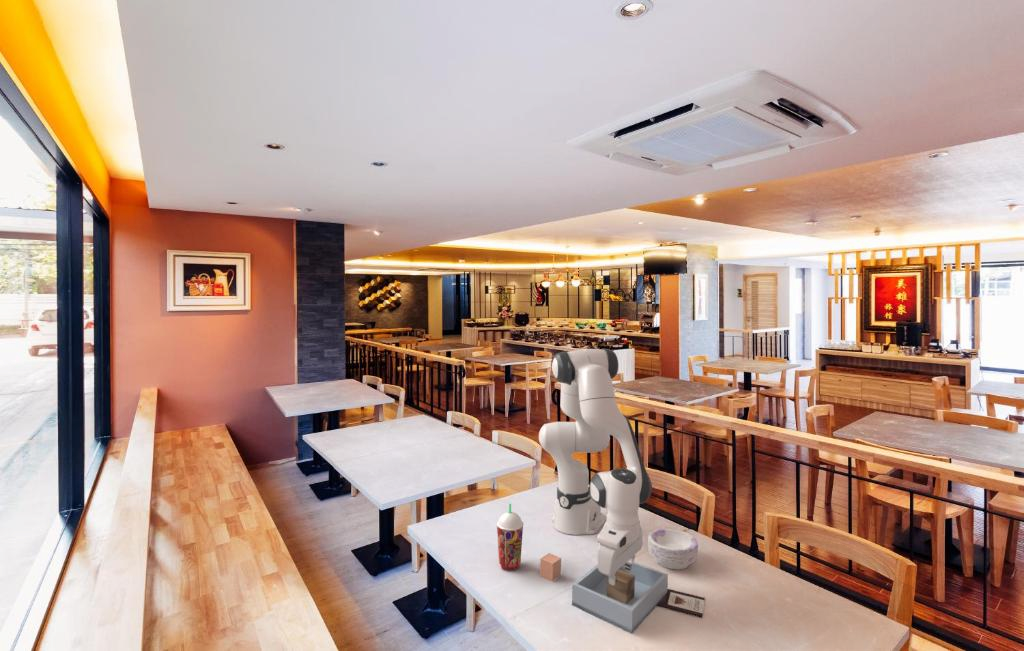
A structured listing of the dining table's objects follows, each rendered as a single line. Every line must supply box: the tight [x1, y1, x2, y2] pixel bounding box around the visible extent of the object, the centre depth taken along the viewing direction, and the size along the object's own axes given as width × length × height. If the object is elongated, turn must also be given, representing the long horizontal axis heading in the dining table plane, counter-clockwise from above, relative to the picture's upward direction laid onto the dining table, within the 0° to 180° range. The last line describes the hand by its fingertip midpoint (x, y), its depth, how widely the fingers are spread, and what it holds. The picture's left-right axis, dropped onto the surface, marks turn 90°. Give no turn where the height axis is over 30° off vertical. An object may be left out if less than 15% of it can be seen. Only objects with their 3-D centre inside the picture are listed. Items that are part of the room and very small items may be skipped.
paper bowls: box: [647, 528, 699, 571], centre depth 161 cm, size 15×15×8 cm
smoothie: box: [496, 503, 524, 571], centre depth 158 cm, size 8×8×20 cm
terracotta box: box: [539, 552, 562, 582], centre depth 153 cm, size 4×4×6 cm
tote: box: [571, 561, 669, 634], centre depth 141 cm, size 22×18×6 cm
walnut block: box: [607, 569, 635, 604], centre depth 141 cm, size 5×6×6 cm
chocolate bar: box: [656, 588, 706, 619], centre depth 141 cm, size 9×1×18 cm
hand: (620, 576), depth 141 cm, fingers open, 8 cm apart
